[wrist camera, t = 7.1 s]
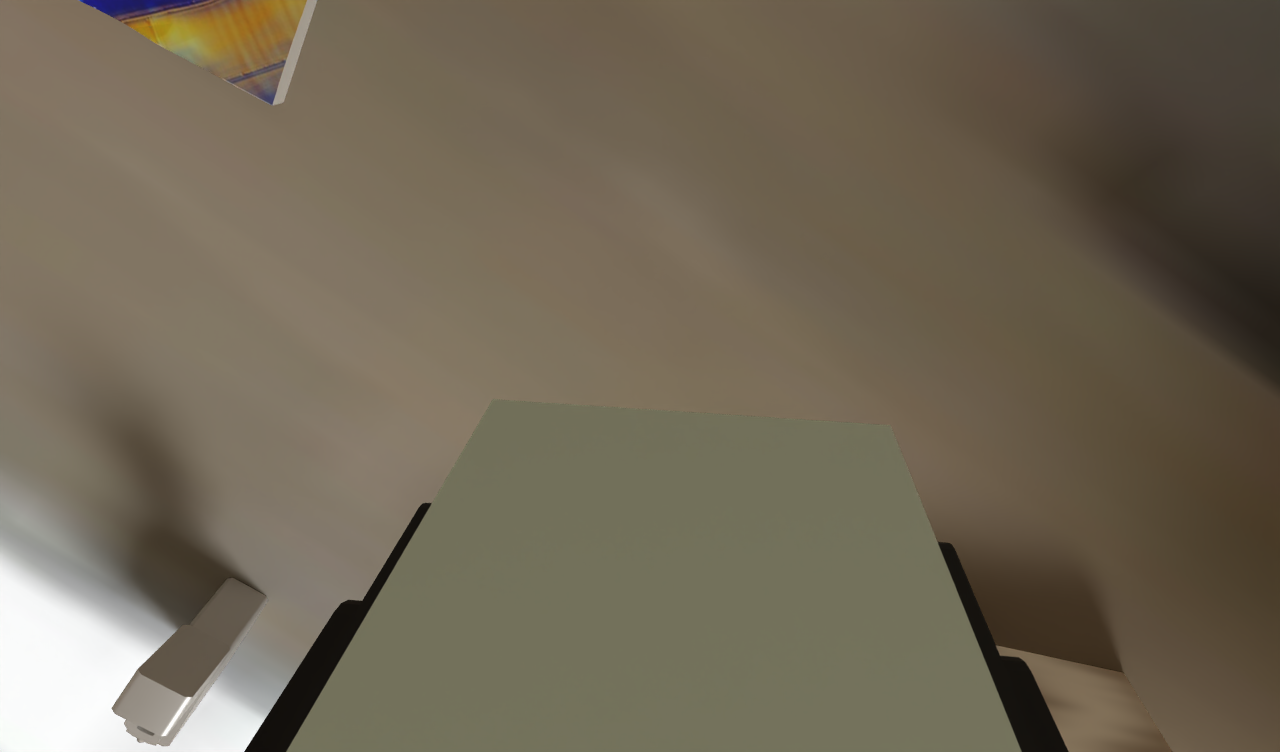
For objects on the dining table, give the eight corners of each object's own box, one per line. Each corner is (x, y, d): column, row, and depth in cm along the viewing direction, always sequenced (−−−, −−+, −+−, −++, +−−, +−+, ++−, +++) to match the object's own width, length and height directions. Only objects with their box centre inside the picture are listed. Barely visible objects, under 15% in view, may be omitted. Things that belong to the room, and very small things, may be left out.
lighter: (228, 662, 34) (99, 844, 27) (189, 641, 34) (47, 819, 26) (301, 547, 31) (179, 715, 24) (259, 524, 31) (122, 686, 24)
